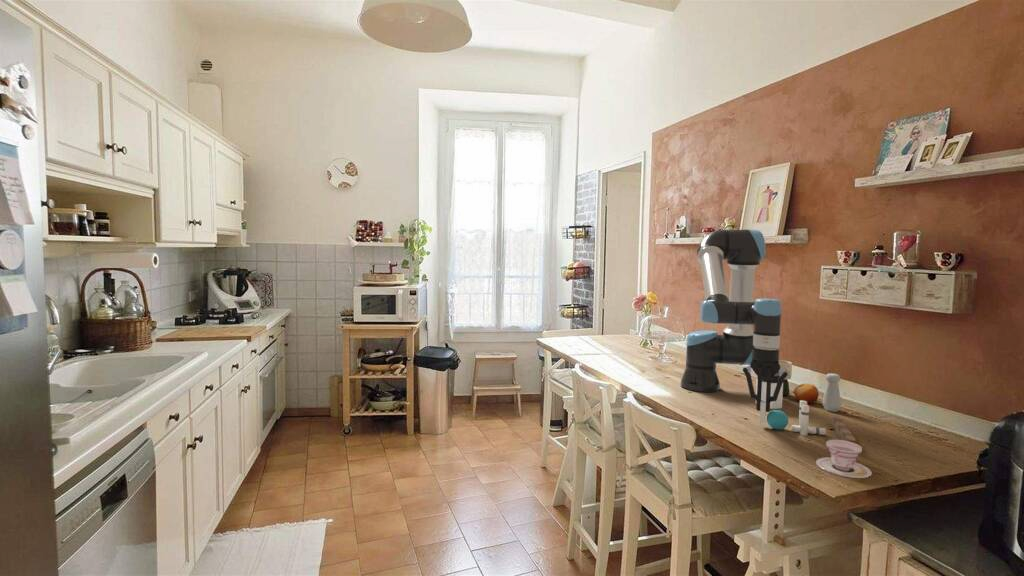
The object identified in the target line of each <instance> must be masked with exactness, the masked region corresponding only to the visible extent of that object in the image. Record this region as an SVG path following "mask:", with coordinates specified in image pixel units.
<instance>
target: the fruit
mask: <svg viewBox="0 0 1024 576" xmlns="http://www.w3.org/2000/svg"><path fill="white" fill-rule="evenodd" d="M793 393H794V396H795V398H796V399H797V400H798V401H799V402H800V401H801V400H802V401H807V405H809V404H817V402H818V399H819V396H820V395H819V389H818V387H817V386H815V384H812V383H802V384H799V385H797V386H796V387H795V388H794V390H793Z"/></svg>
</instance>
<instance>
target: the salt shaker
mask: <svg viewBox="0 0 1024 576" xmlns="http://www.w3.org/2000/svg"><path fill="white" fill-rule="evenodd" d="M825 380H826V381H827V382H826V387H825V390H824V394H823V398H822V402H821V403H822V406H823V408H824V411H827V412H833V413H834V412H835V413H837V412H839V410H840V408H841V407H842V400H841V394H840V386H839V385H840V384H839V382H840V381H841V376H840V375H839V374H837V373H827V374H826V376H825Z"/></svg>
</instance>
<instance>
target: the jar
mask: <svg viewBox="0 0 1024 576" xmlns="http://www.w3.org/2000/svg"><path fill="white" fill-rule="evenodd" d="M756 376H757V375H756ZM779 377H780V376H779V373H778V372H777V373H776V374H775V375H774V376H773V377H771V395H770V397H771V396H773V394H774V391H775V388H776V385H777V382H778V379H779ZM755 381H756V383H755V394H756V395H757V383H758V376H757V377H756V379H755ZM766 386H767V378H766V377H762V392H761V400H766ZM783 396H784V395H783V383H782V386H781V389H780V392H779V395H778V398H777V400H776V401H772V402H770V410H780V409H783V399H784V398H783ZM755 404H756V405H757V401H756V400H755Z"/></svg>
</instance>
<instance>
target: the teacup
mask: <svg viewBox="0 0 1024 576" xmlns="http://www.w3.org/2000/svg"><path fill="white" fill-rule="evenodd" d="M825 445H826V447H827V448H828V451H829V453H830V457H828V456H827V457H821V458H817V459H816V461H815V463H816V466H817V467H819V469H822V470H823V471H825V472H828V473H830V474H833V475H837V476H840V477H845V478H851V479H866V478H870V477H871V476H872V474H873V472H872V471H871V469H870V468H868V467H867V466H865V465H864V464H861V463H860V462H859V463H858V462H856V460H857V458H858V457H859V454H861V453H862V452H863V447H862V446H861V445H859V444H858V443H857V444H855V443H853V442H849V441H844V440H841V439H828V440H826V442H825ZM833 466H834V467H835V468H834V467H833ZM860 468H862V469H864V470H865V471H866V472H867V474H866V475H864V476H853V474H854V473H859V472H860V471H861V469H860ZM851 469H853V470H854V471H851V472H848V471H850V470H851ZM859 469H860V470H859ZM869 476H870V477H869Z"/></svg>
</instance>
